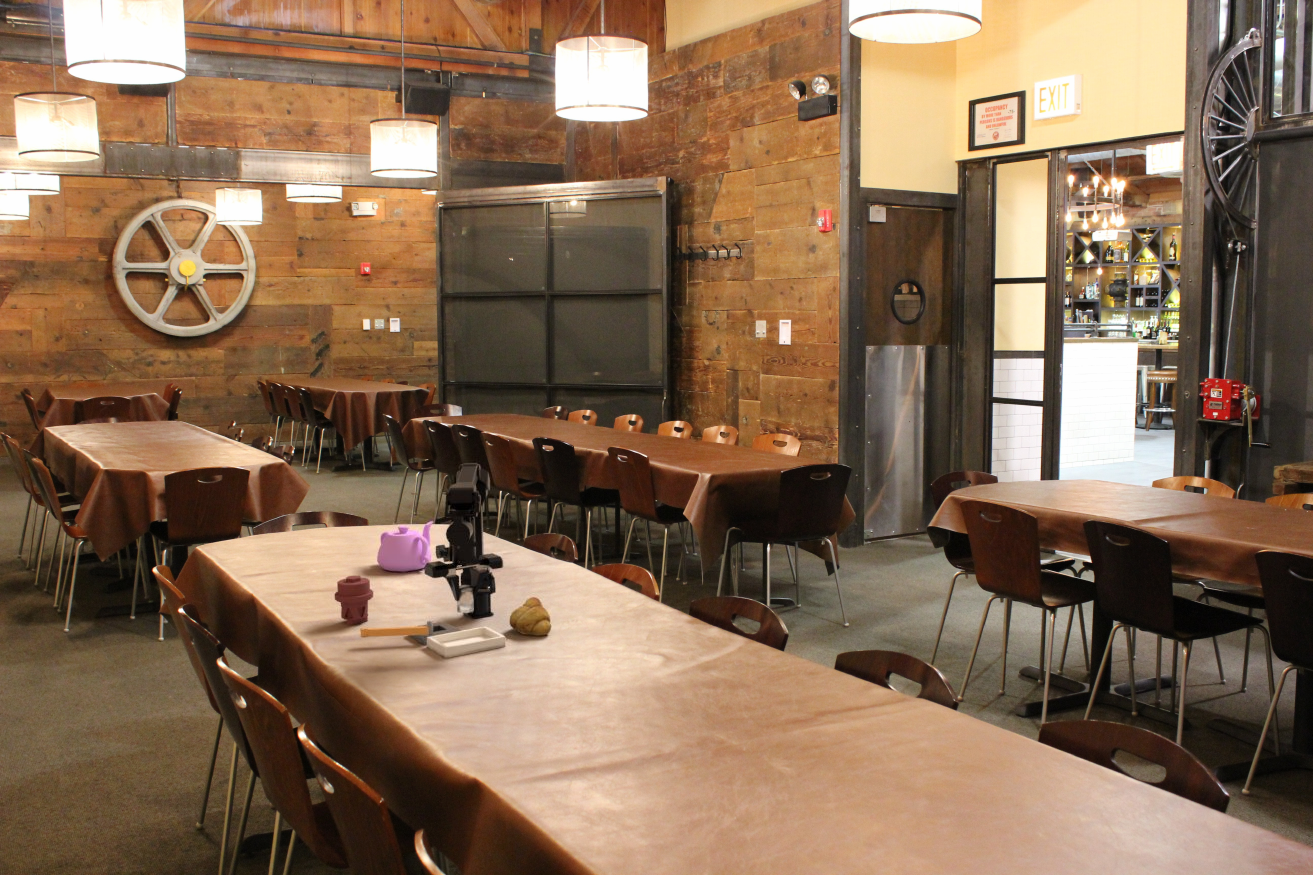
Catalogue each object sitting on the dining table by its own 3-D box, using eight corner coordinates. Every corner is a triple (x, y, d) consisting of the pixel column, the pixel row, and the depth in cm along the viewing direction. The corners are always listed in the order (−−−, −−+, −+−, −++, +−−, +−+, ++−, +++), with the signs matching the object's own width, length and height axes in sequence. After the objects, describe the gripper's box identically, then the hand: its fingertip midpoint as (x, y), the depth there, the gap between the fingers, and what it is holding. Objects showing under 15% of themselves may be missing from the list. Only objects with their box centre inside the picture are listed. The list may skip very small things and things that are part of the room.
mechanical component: (380, 617, 293) (363, 628, 283) (346, 616, 295) (328, 626, 285) (379, 573, 292) (362, 582, 282) (345, 571, 294) (326, 580, 284)
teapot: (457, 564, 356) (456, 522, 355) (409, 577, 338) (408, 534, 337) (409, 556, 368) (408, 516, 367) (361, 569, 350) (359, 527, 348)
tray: (485, 635, 276) (485, 626, 276) (505, 646, 267) (505, 636, 267) (427, 646, 267) (426, 637, 267) (445, 658, 258) (445, 648, 258)
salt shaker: (469, 607, 269) (468, 584, 268) (476, 611, 266) (475, 587, 265) (454, 610, 267) (453, 586, 266) (461, 613, 263) (460, 589, 263)
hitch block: (444, 628, 282) (444, 621, 282) (460, 637, 274) (460, 630, 274) (408, 635, 277) (408, 627, 276) (423, 644, 269) (423, 637, 268)
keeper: (361, 635, 269) (360, 623, 268) (433, 632, 271) (433, 620, 271) (360, 637, 267) (359, 625, 266) (432, 635, 269) (432, 622, 269)
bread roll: (559, 635, 276) (558, 605, 275) (524, 641, 271) (524, 610, 270) (537, 623, 287) (537, 594, 286) (504, 629, 282) (503, 599, 281)
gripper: (483, 527, 276) (485, 587, 278) (414, 536, 265) (416, 598, 267) (503, 534, 267) (504, 596, 269) (432, 544, 256) (434, 608, 258)
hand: (465, 599), depth 266 cm, fingers closed on salt shaker, 4 cm apart
